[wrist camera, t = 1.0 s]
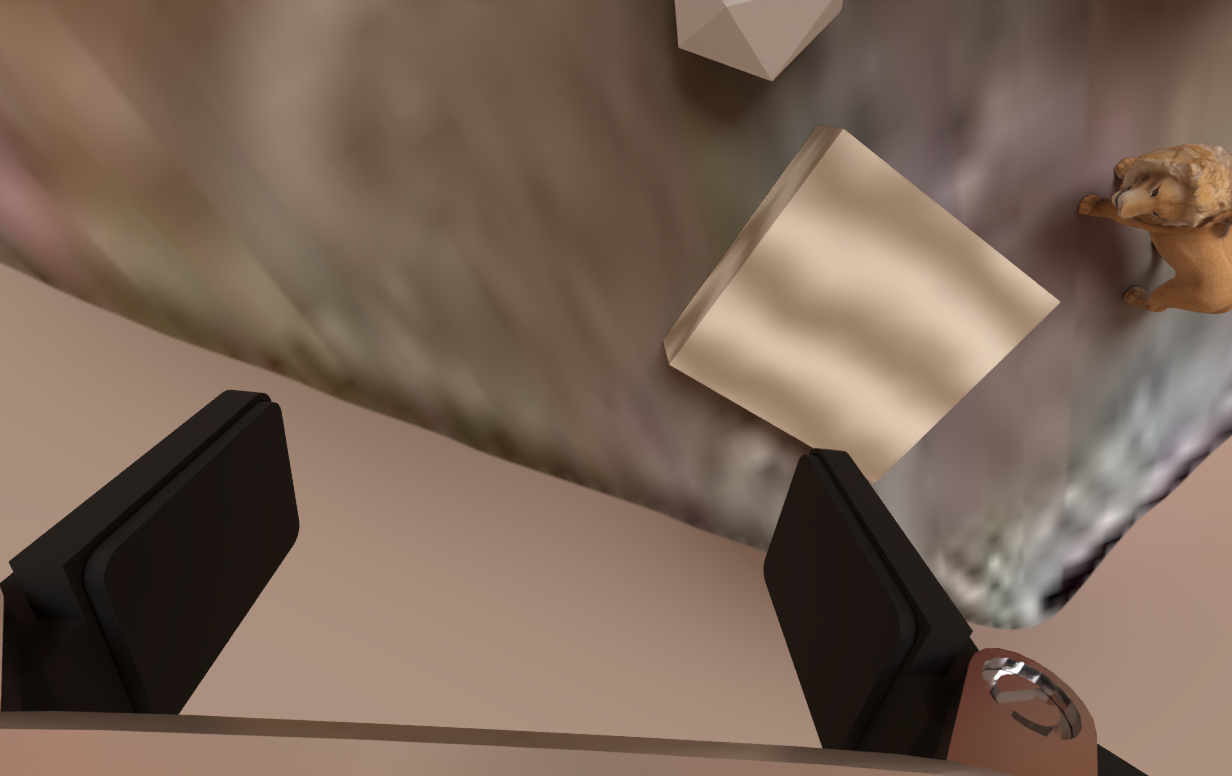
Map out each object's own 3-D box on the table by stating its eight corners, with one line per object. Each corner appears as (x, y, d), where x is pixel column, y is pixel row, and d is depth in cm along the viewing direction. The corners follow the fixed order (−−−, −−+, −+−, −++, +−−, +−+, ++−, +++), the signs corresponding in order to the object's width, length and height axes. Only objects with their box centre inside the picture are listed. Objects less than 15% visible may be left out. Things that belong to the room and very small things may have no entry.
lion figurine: (1024, 183, 35) (1150, 210, 27) (1103, 109, 33) (1264, 114, 25) (1138, 323, 39) (1275, 380, 31) (1214, 264, 38) (1379, 310, 30)
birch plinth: (817, 125, 33) (843, 128, 29) (1017, 282, 38) (1060, 302, 34) (662, 340, 39) (669, 364, 35) (852, 452, 44) (874, 483, 40)
